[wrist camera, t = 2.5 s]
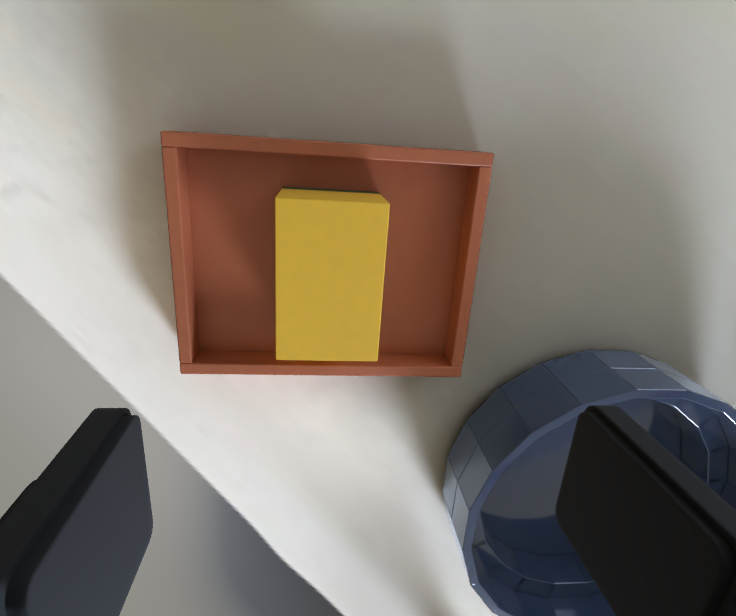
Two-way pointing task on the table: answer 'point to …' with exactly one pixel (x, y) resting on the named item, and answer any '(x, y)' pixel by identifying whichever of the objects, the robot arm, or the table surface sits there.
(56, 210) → the table surface
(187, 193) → the sponge dish
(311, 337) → the sponge
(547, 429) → the bowl
